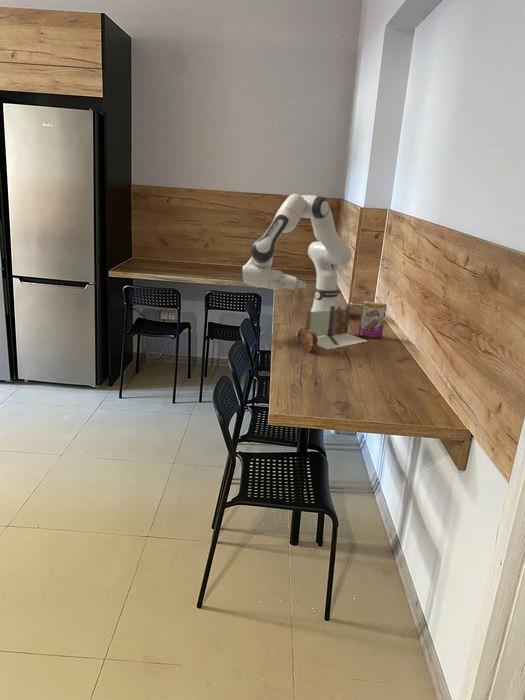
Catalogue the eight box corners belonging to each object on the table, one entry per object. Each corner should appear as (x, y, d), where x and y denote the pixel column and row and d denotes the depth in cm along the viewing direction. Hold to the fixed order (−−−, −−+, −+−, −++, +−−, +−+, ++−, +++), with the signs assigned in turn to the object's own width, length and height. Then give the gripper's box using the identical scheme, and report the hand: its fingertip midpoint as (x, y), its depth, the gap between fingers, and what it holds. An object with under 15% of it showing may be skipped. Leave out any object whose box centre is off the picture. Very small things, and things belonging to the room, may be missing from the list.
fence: (344, 331, 261) (347, 303, 256) (348, 332, 259) (351, 304, 254) (325, 334, 253) (328, 306, 249) (329, 336, 251) (332, 307, 247)
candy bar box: (358, 335, 256) (362, 302, 251) (359, 333, 261) (363, 300, 256) (381, 339, 254) (386, 305, 249) (382, 336, 258) (387, 303, 253)
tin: (296, 343, 239) (298, 325, 236) (302, 343, 240) (304, 325, 237) (311, 354, 226) (312, 335, 223) (317, 354, 227) (319, 335, 224)
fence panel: (325, 333, 253) (328, 308, 249) (328, 335, 251) (331, 309, 247) (303, 337, 244) (306, 311, 241) (306, 338, 243) (308, 312, 239)
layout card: (337, 330, 263) (337, 329, 263) (367, 341, 248) (367, 340, 248) (297, 337, 248) (297, 336, 248) (327, 349, 233) (327, 348, 233)
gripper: (276, 275, 231) (307, 281, 230) (278, 270, 251) (307, 276, 250) (273, 289, 232) (304, 295, 232) (275, 284, 252) (304, 289, 252)
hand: (306, 285), depth 241 cm, fingers open, 8 cm apart
